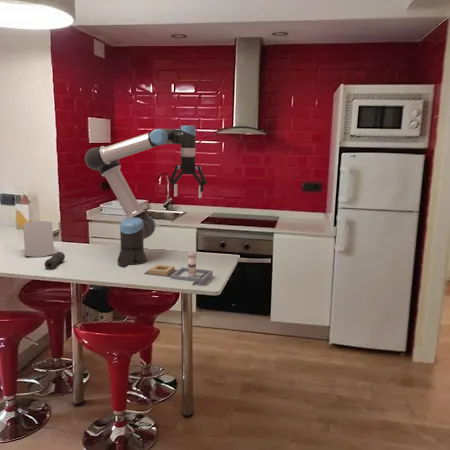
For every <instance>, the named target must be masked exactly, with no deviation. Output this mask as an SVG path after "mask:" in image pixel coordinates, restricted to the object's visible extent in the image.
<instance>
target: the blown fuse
mask: <svg viewBox="0 0 450 450" xmlns="http://www.w3.org/2000/svg"><path fill="white" fill-rule="evenodd" d="M187 257H188V258H187V259H188V260H187V261H188V263H187V268H188V272H187V277H193V278H197V273H196V269H197V252H196V251H187Z"/></svg>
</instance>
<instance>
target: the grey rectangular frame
mask: <svg viewBox="0 0 450 450" xmlns="http://www.w3.org/2000/svg"><path fill="white" fill-rule="evenodd" d="M176 270H177V271H176V272H175V273H173V274H172V275H171V277H170V280H177V281H184V282H185V281H186V282H193V283H192V285H193V284H200V285H199V286H202V285H203V286H204V285H206V284H207V281H208V280H209V279H210V278H211V277H212V276H213V275H214V274H213V272H214V271H213V270H208V269H201V268H200V269H199V268H196V274H202V275H200V276H199V277H188V276H183V275H180V274H181V273H183V272H186V273H188V267H180V268H179V269H176ZM212 278H213V277H212ZM212 278H211V279H212ZM211 279H210V280H211ZM208 282H209V281H208Z"/></svg>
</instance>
